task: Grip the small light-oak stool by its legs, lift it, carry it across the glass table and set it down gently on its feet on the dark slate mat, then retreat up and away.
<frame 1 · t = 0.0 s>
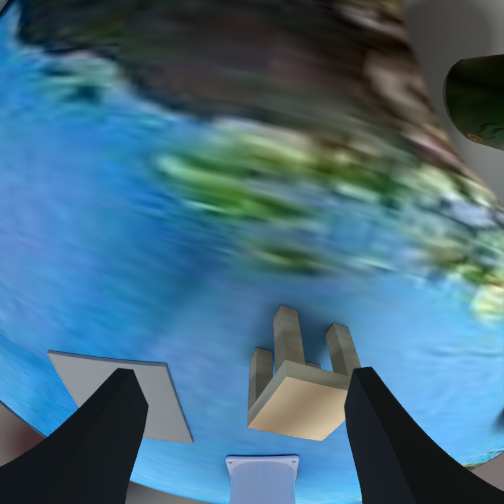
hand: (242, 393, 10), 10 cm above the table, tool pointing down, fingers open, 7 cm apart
oak stool: (298, 344, 21), on the table
slate mat: (122, 401, 26), on the table
beer can: (470, 99, 14), on the table
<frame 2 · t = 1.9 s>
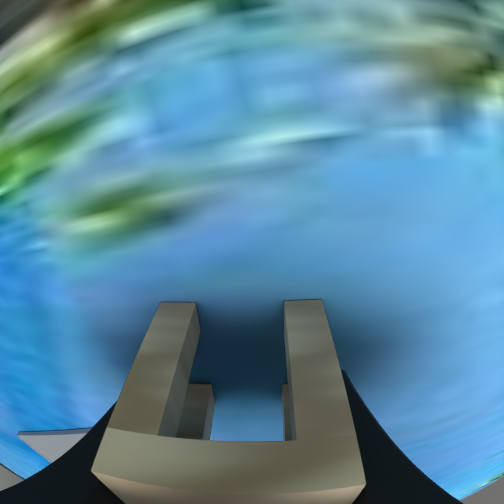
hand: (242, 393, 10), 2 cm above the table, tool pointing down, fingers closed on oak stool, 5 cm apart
oak stool: (244, 360, 11), on the table, touching gripper
slate mat: (110, 474, 17), on the table
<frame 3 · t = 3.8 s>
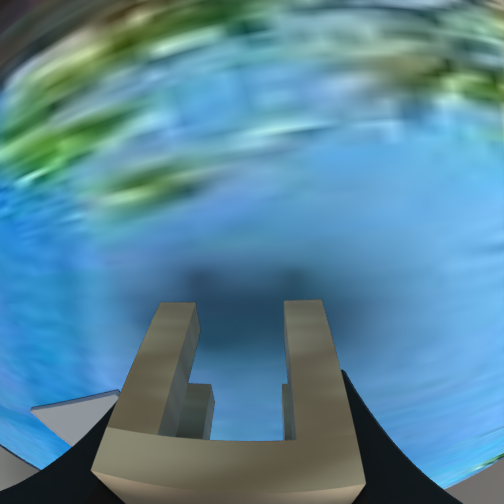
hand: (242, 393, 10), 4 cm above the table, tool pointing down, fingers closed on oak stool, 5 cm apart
oak stool: (244, 360, 11), point 3 cm above the table, touching gripper
slate mat: (119, 446, 20), on the table
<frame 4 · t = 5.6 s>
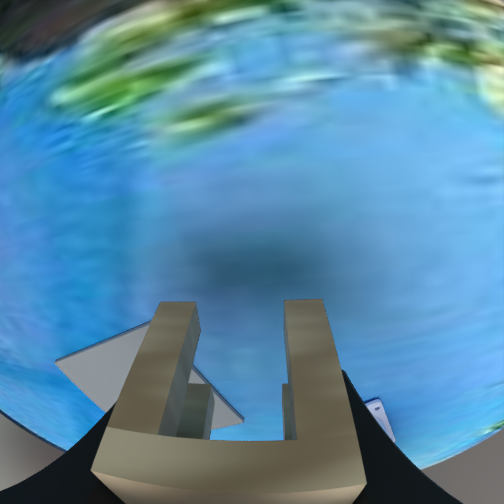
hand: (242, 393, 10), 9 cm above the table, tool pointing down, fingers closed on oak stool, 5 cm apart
oak stool: (244, 359, 11), point 7 cm above the table, touching gripper
slate mat: (145, 393, 23), on the table
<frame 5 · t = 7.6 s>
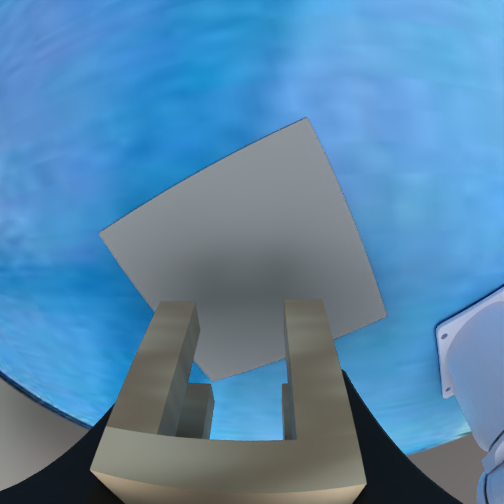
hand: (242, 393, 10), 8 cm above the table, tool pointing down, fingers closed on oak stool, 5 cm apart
oak stool: (244, 359, 11), point 6 cm above the table, touching gripper
slate mat: (250, 275, 17), on the table
when the fingers open (3 cm above the table, at t = 9.1 s): oak stool stays where it is, resting on slate mat.
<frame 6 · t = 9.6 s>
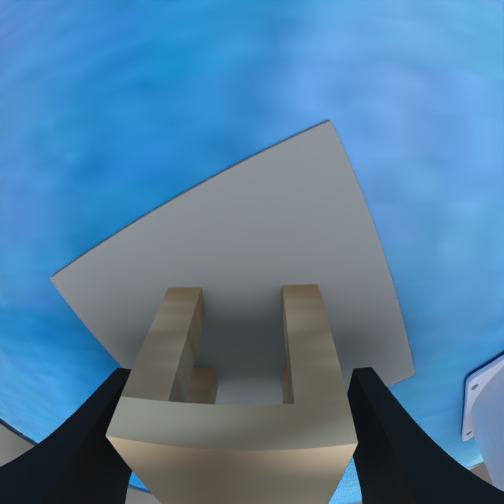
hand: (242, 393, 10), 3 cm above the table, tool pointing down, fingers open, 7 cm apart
oak stool: (245, 343, 12), resting on slate mat
slate mat: (245, 335, 12), on the table
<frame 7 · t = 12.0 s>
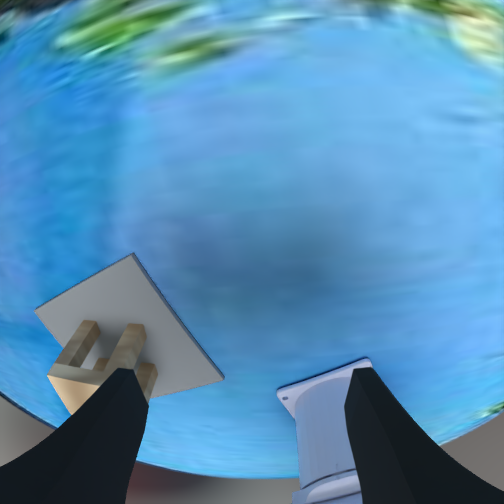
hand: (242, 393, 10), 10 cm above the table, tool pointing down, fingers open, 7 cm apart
oak stool: (120, 348, 22), resting on slate mat
slate mat: (122, 344, 23), on the table
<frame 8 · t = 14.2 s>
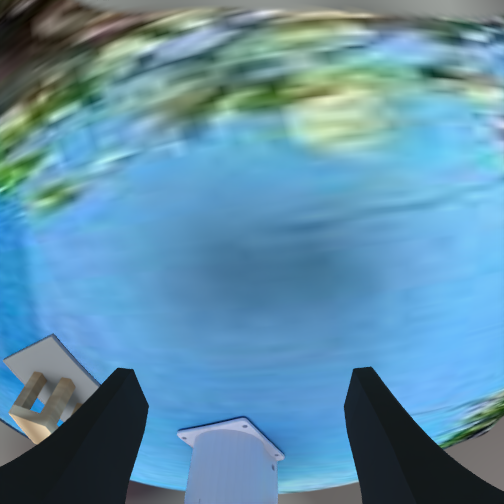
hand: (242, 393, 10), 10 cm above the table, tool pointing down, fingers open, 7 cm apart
oak stool: (61, 392, 26), resting on slate mat
slate mat: (63, 389, 26), on the table
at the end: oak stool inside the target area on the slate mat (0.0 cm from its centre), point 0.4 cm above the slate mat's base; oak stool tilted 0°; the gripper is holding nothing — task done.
